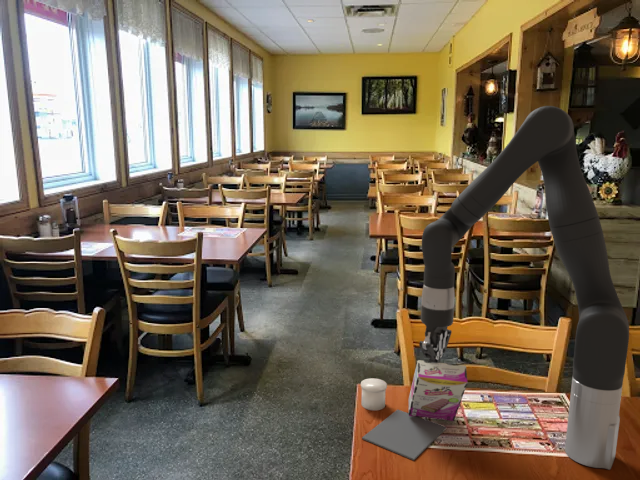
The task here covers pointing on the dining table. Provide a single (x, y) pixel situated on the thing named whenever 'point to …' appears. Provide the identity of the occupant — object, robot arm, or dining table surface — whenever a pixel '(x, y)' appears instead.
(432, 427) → the mat
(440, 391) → the candy bar box
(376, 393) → the sugar bowl
